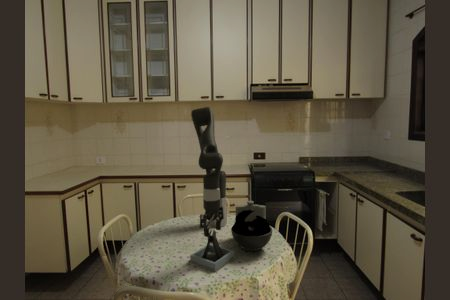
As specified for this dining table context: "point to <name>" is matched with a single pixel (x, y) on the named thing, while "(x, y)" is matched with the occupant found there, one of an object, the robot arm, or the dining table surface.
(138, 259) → the dining table surface
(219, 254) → the phone stand
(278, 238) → the dining table surface
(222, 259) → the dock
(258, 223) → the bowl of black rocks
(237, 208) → the hip flask
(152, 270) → the dining table surface
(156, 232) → the dining table surface
